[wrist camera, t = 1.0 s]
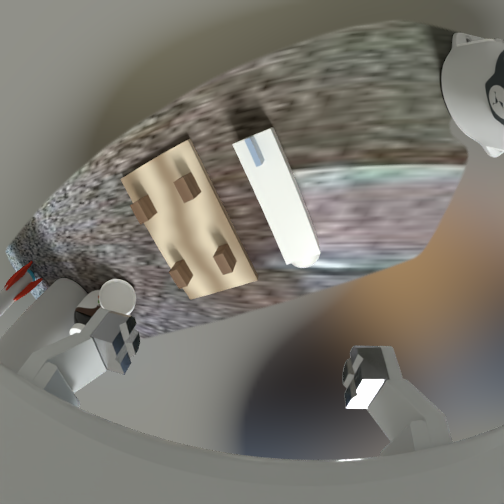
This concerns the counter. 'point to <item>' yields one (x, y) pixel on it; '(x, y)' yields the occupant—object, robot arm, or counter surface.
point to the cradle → (189, 222)
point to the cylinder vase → (41, 323)
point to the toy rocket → (17, 287)
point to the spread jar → (105, 302)
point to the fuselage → (279, 197)
